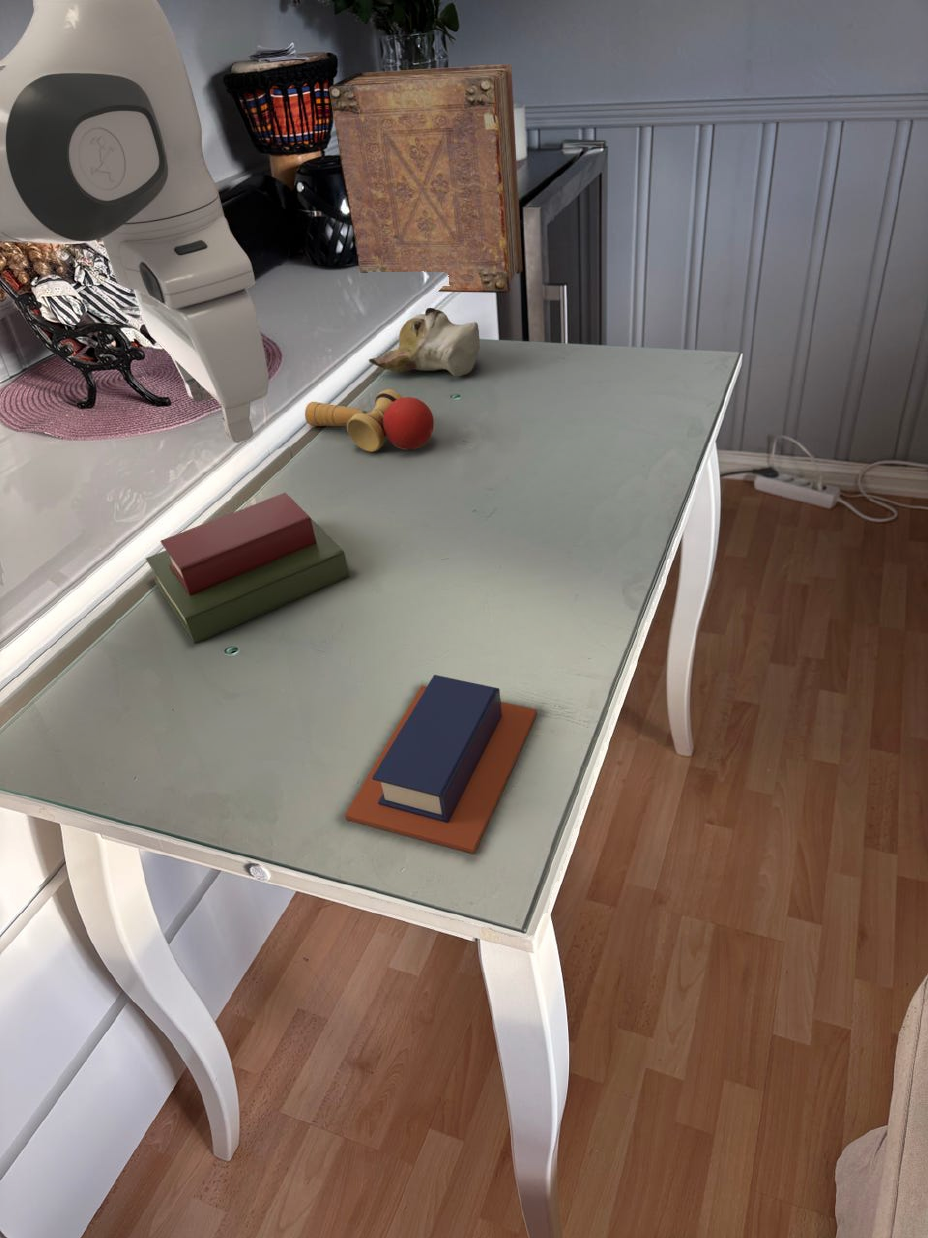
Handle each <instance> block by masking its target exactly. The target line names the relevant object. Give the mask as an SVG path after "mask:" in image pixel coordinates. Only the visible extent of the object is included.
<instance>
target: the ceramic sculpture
mask: <svg viewBox="0 0 928 1238" xmlns="http://www.w3.org/2000/svg"><path fill="white" fill-rule="evenodd" d="M480 338H481V337H480V329H479V324H478V322H477V321H474V322H468V323H467V322H466V323H464V324H454V323H453V322H452V321H450V319H449V318H448V315H447V314H446V313H445V312H444V311H442V310H440V309H436V308H434V307H427V308H426V309H425V313H424V314H423V313H420V314H416V315H415V316H413V317H411V318H410V319H408V320H407V321H406V322H405V323H404V324H403V326H402V327H401V329H400V330H399V335H398V340H399V341H398V343H399V344H398V345H399V346H398V348H397V349H393V350H389V351H387V352H385V353H383V355H381V356H378V357H373V358H369V359H368V362H369V363H370V364H372V365H374V366H376V367H379V368H380V369H383V370H386V371H389V372H395V373H401V372H407V371H410V370H418V371H425V372H426V371H427V372H429V371H430V372H432V371H439V370H447V371H448V372H449V374H451V375H452V376H454V377H457V378H458V377H462V376H465V375H468V374H469V373H471V372H472V370H473V369H474V366H475V363H476V361H477V357H478V352H479V350H480V345H481V344H480V340H481V339H480Z"/></svg>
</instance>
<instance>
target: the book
mask: <svg viewBox="0 0 928 1238" xmlns="http://www.w3.org/2000/svg"><path fill="white" fill-rule="evenodd" d="M328 92H329V97H330V104H331V110H332V117H333V122H334V127H335V133H336V139H337V144H338V149H339V156H340V157H339V158H340V161H341V162H340V163H341V167H342V174H343V180H344V185H345V192H346V197H347V202H348V203H347V204H348V208H349V214H350V215H349V216H350V221H351V226H352V232H353V238H354V244H355V249H356V256H357V261H358V267H359V268H358V269H359V272H360V273H368V272H414V271H415V272H417V271H418V272H420V271H424V272H425V271H426V272H444V273H447V274H448V275H449V276H448V277H449V285H450V286H443V287H442V288H441V289H440V290H439V291H438V292H437V293H478V294H479V293H482V294H483V293H484V294H487V293H488V294H509V293H510V291H511V282H512V280H513V279H514V278H515V276H516V275H518V274H521V273H522V272H523V257H522V256H523V255H522V240H521V239H522V238H521V220H520V219H521V218H520V201H519V198H520V197H519V184H518V183H519V182H518V162H517V144H516V142H517V141H516V126H515V125H516V124H515V108H514V89H513V70H512V65H511V64H510V63H499V64H484V65H483V64H482V65H467V66H466V65H465V66H453V67H436V68H435V67H434V68H421V69H419V68H418V69H403V70H388V71H372V72H371V71H370V72H358V73H357V72H356V73H353V74H352V75H350V76H348V77H346V78H343V79H341V80H340V81H338V82H336V83H334V84H332V85H330V86H329V88H328ZM360 273H359V274H360Z"/></svg>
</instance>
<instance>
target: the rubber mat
mask: <svg viewBox="0 0 928 1238" xmlns="http://www.w3.org/2000/svg"><path fill="white" fill-rule="evenodd" d="M426 688H427V686H426V685H421V686H420V687H419V689H418V691H417V693H416V694H415V696H414V697H413V699H412V701H411V702H410V704H409V706H408V707H407V709H406V711H405V712H404V714H403V716H402V718H401V719H400V721H399V723H398V725H397V726H396V728H395V729H394V731H393V733H392V734H391V736H390V737H389V740H388V742H387V743H386V745H385V746H384V748H383V750H382V751H381V753H380V755H379V756H378V758H377V760H376V762H374V765H373V767H372V768H371V770H370V771H369V774H368V775H367V776H366V779H365V781H364V782H363V783H362V785H361V786H360V788H359V790H358V791H357V793H356V795H355V796H354V798H353V800H352V802H351V803H350V805H349V807H348V809H347V810H346V812H345V814H344V818H345V820H347V821H350V822H351V821H352V822H355V823H358V824H362V825H366V826H370V827H373V828H378V829H380V830H385V831H388V832H392V833H396V834H399V835H403V836H407V837H410V838H414V839H418V840H422V841H425V842H429V843H433V844H437V845H440V846H443V847H447V848H451V849H455V850H458V851H462V852H465V853H469V854H475V853H476V851H477V849H478V846H479V844H480V841H481V839H482V837H483V835H484V832H485V830H486V828H487V827H488V824H489V821H490V820H491V818H492V815H493V813H494V811H495V808H496V806H497V803H498V801H499V799H500V798H501V795H502V793H503V790H504V788H505V786H506V783H507V781H508V779H509V777H510V775H511V772H512V770H513V768H514V765H515V764H516V762H517V759H518V756H519V755H520V752H521V750H522V748H523V745H524V743H525V741H526V739H527V736H528V734H529V732H530V730H531V728H532V726H533V723H534V721H535V718H536V716H537V714H538V709H536V708H532V707H528V706H523V705H517V704H513V703H508V702H503V701H501V711H502V717H501V719H500V721H499V723H498V725H497V727H496V729H495V731H494V733H493V735H492V737H491V739H490V741H489V743H488V745H487V747H486V749H485V751H484V753H483V755H482V757H481V759H480V761H479V763H478V765H477V767H476V768H475V770H474V772H473V774H472V776H471V778H470V780H469V782H468V784H467V786H466V788H465V790H464V792H463V794H462V796H461V798H460V800H459V802H458V804H457V806H456V808H455V810H454V812H453V814H452V816H451V818H450V820H449V822H448V823H445V822H442V821H438V820H434V819H431V818H427V817H423V816H420V815H416V814H412V813H409V812H405V811H401V810H398V809H394V808H390V807H387V806H383V805H379V804H378V801H379V799H380V798H381V796H382V794H383V788H382V784H381V782H379V781H375V780H373V779H372V777H373V775H374V773H375V772H376V770H377V768H378V767H379V765H380V763H381V762H382V760H383V759H384V757H385V755H386V754H387V752H388V750H389V749H390V747H391V745H392V744H393V742H394V740H395V739H396V737H397V735H398V734H399V732H400V730H401V729H402V727H403V725H404V724H405V722H406V721H407V719H408V717H409V716H410V714H411V712H412V711H413V709H414V707H415V706H416V704H417V702H418V701H419V699H420V697H421V696H422V694H423V692H424V691H425V689H426Z"/></svg>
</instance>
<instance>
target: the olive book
mask: <svg viewBox="0 0 928 1238" xmlns="http://www.w3.org/2000/svg"><path fill="white" fill-rule="evenodd" d="M311 521H312V525H313V530H314V534H315V538H316V542H317V543H316V544H314V545H311V546H309V547H306V548H304V549H301V550H299V551H297V552H294V553H292V554H289V555H287V556H285V557H282V558H280V559H277V560H275V561H273V562H270V563H268V564H265V565H263V566H260V567H258V568H256V569H253V570H251V571H248V572H246V573H244V574H241V575H239V576H236V577H234V578H232V579H229V580H227V581H224V582H222V583H220V584H217V585H215V586H212V587H210V588H207V589H205V590H203V591H200V592H198V593H195V594H193V595H191V596H190V595H189V593H188V592H187V590H186V589H185V588H184V586H183V585H182V583H181V582H180V580H179V579H178V577H177V576H176V575H175V573H174V572H173V570H172V569H171V567H170V566H169V564H170V563H172V560H171V557H170V555H169V554H168V552H167V551H166V549H165V550H163V551H160V552H158V553H155V554H154V555H151V556H148V557H146V558H145V561H146V563H147V564H148V566H149V567H150V568H151V570H152V571H153V573H154V574H155V576H156V579H154V580H153V581H154V584H155V585H156V587H157V588H158V589H159V591H160V593H161V594H162V596H163V597H164V599H165V600H166V601H167V604H168V605H169V606H170V608H171V610H172V611H173V612H174V615H175V616H176V617H177V619H178V620H179V623H181V625H182V627H183V628H184V629H185V631H186V633H187V634H188V636H189V637H190V638H191V640H192V642H193V644H197V643H200V642H202V641H205V640H207V639H208V638H211V637H213V636H216V635H218V634H220V633H222V632H225V631H228V630H230V629H231V628H232V629H233V628H234V627H237V626H238V625H241V624H243V623H245V622H247V621H250V620H252V619H255V618H257V617H259V616H262V615H264V614H267V613H269V612H271V611H273V610H275V609H278V608H280V607H282V606H285V605H287V604H289V603H291V602H294V601H296V600H298V599H301V598H302V597H305V596H307V595H310V594H313V593H314V592H317V591H318V590H321V589H323V588H325V587H328V586H330V585H333V584H336V583H337V582H340V581H342V580H344V579H347V578H348V577H350V576H351V575H350V572H349V567H348V563H347V557H346V552H345V550H344V549H343V548H342V547H341V546H340V545H339V544H338V543H337V542H335V540H334V539H333V538H332V537H331V536H330V535H329V534H328V533H326V532H325V530H324V529H322V528H321V526H320V525H319V524H318V523H317V522H315V521H314V519H312V518H311Z"/></svg>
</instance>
